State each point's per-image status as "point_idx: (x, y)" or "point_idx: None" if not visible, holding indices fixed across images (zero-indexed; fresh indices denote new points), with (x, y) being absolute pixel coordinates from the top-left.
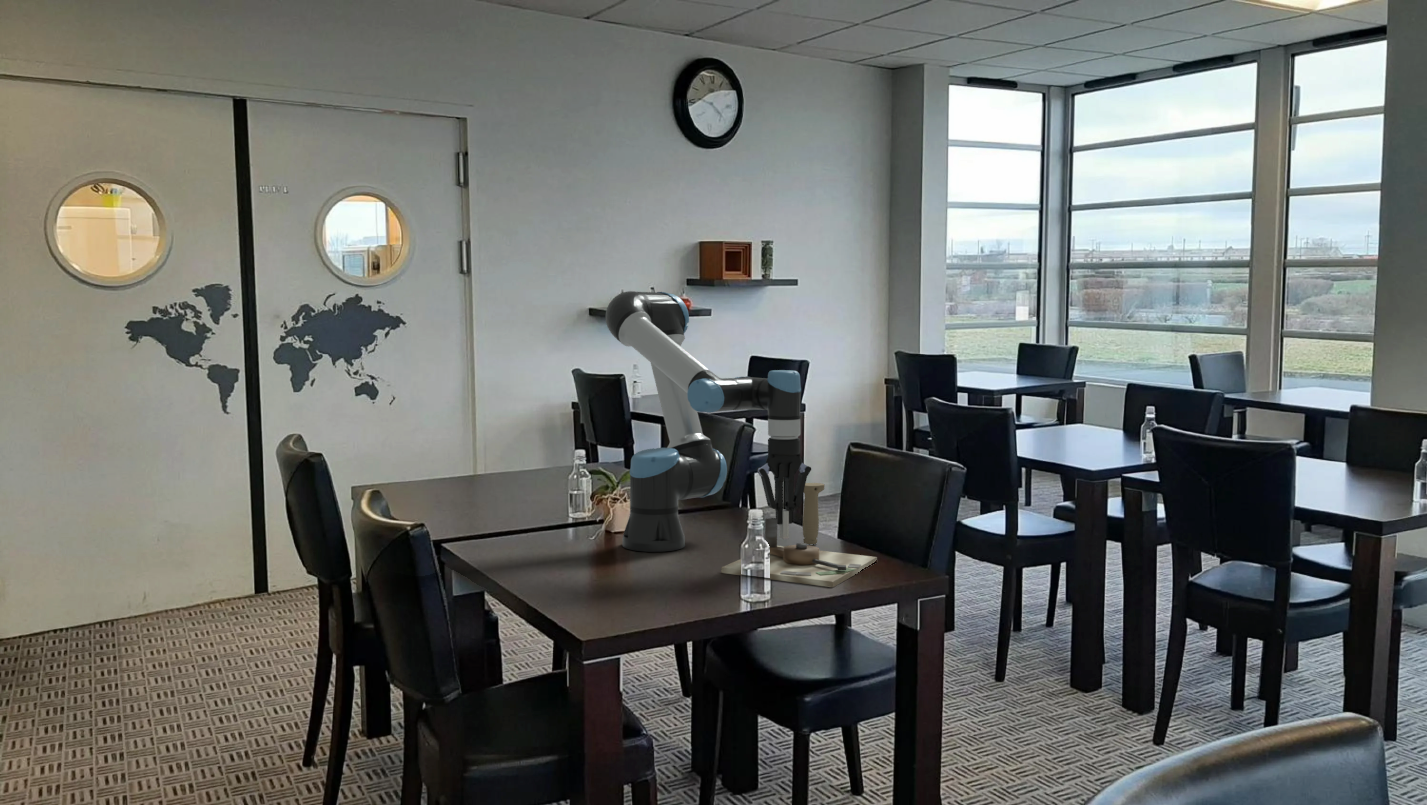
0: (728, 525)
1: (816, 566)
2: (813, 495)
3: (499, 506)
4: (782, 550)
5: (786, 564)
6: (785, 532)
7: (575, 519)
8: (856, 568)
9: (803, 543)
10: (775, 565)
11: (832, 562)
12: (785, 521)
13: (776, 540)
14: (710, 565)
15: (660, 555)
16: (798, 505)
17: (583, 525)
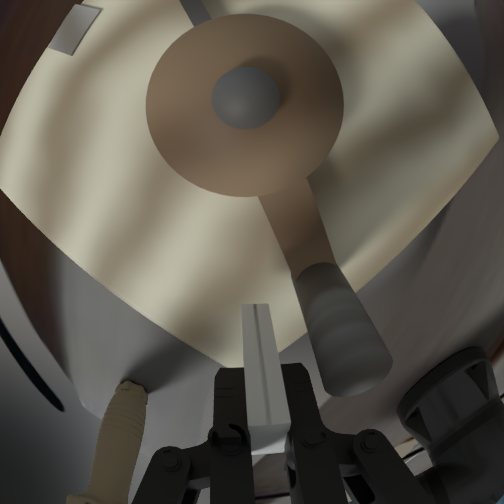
0: (254, 474)
1: None
2: (99, 492)
3: (415, 471)
4: (308, 196)
5: None
6: (260, 324)
7: (404, 462)
8: (83, 1)
9: (228, 109)
10: (371, 83)
11: (116, 85)
12: (266, 369)
13: (310, 285)
14: (477, 224)
15: (481, 327)
16: (167, 456)
17: (417, 449)
